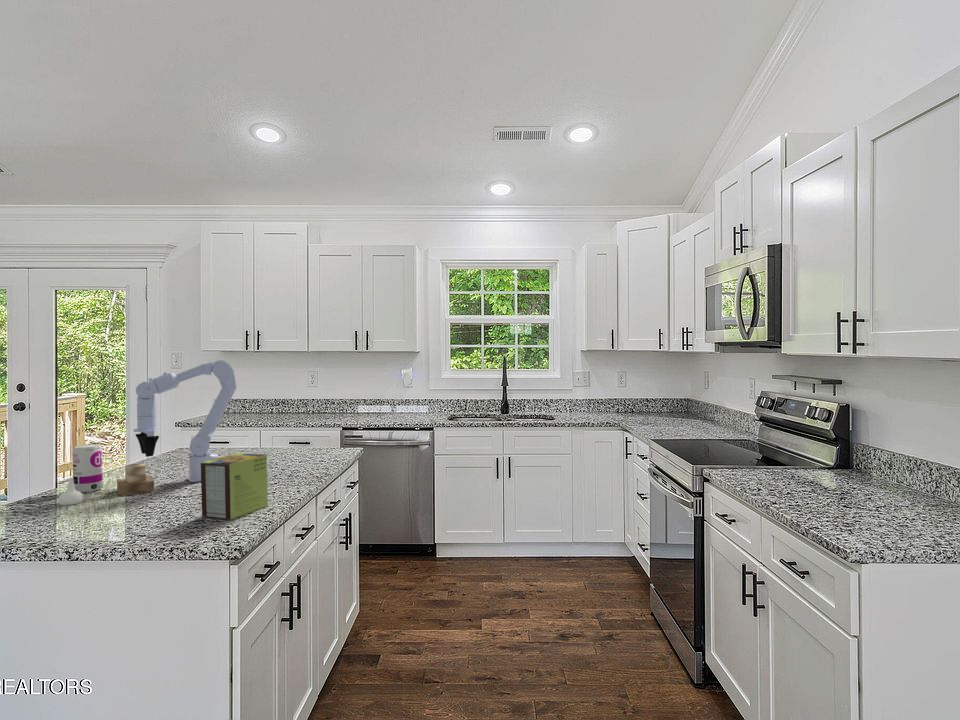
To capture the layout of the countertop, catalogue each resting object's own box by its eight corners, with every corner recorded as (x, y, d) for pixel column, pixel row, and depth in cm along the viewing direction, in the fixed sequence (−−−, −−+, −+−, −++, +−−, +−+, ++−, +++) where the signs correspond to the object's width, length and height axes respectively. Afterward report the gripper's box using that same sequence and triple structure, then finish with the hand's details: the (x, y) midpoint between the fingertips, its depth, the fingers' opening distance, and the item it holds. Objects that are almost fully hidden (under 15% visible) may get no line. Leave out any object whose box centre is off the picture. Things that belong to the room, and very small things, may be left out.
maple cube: (142, 478, 195) (142, 463, 194) (145, 480, 191) (145, 465, 191) (125, 480, 191) (125, 465, 191) (128, 482, 188) (128, 467, 187)
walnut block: (151, 487, 198) (151, 475, 198) (154, 492, 190) (153, 480, 190) (117, 491, 193) (116, 479, 192) (118, 497, 184) (118, 485, 184)
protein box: (268, 505, 171) (267, 454, 171) (230, 520, 157) (229, 464, 156) (240, 503, 174) (239, 452, 174) (200, 517, 160) (199, 461, 160)
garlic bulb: (69, 508, 173) (71, 482, 173) (52, 505, 174) (54, 479, 174) (88, 502, 179) (89, 477, 179) (71, 500, 180) (72, 474, 180)
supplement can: (108, 487, 197) (107, 444, 196) (90, 493, 188) (88, 448, 188) (86, 487, 197) (85, 443, 197) (67, 493, 189) (66, 448, 189)
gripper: (129, 415, 203) (130, 453, 203) (137, 418, 192) (137, 459, 192) (152, 413, 208) (153, 451, 208) (160, 416, 196) (161, 456, 197)
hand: (147, 454), depth 200 cm, fingers open, 7 cm apart
